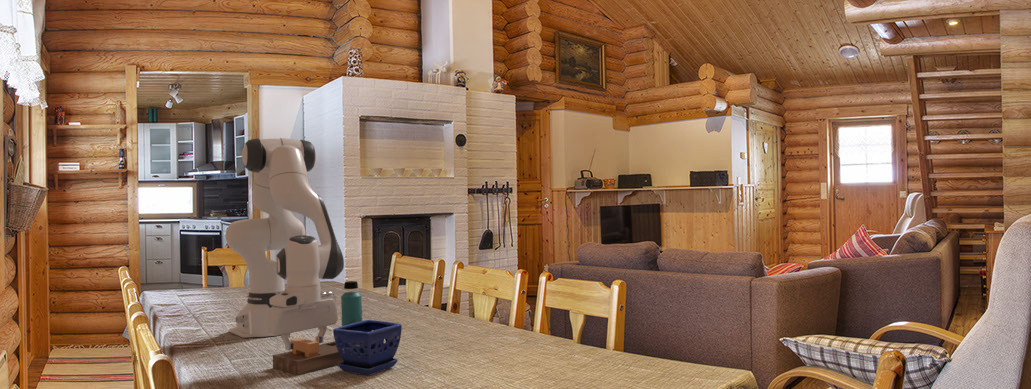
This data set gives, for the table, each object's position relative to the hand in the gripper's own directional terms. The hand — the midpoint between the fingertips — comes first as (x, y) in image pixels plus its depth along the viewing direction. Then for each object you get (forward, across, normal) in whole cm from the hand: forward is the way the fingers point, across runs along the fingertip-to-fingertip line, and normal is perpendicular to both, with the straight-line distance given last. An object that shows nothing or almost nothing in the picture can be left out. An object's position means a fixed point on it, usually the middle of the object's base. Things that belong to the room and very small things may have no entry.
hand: (304, 346), depth 186 cm
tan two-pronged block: (+6, 0, 0) cm, 6 cm away
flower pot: (+6, -8, +17) cm, 20 cm away
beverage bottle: (+6, -23, -9) cm, 25 cm away
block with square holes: (+6, -6, 0) cm, 8 cm away
